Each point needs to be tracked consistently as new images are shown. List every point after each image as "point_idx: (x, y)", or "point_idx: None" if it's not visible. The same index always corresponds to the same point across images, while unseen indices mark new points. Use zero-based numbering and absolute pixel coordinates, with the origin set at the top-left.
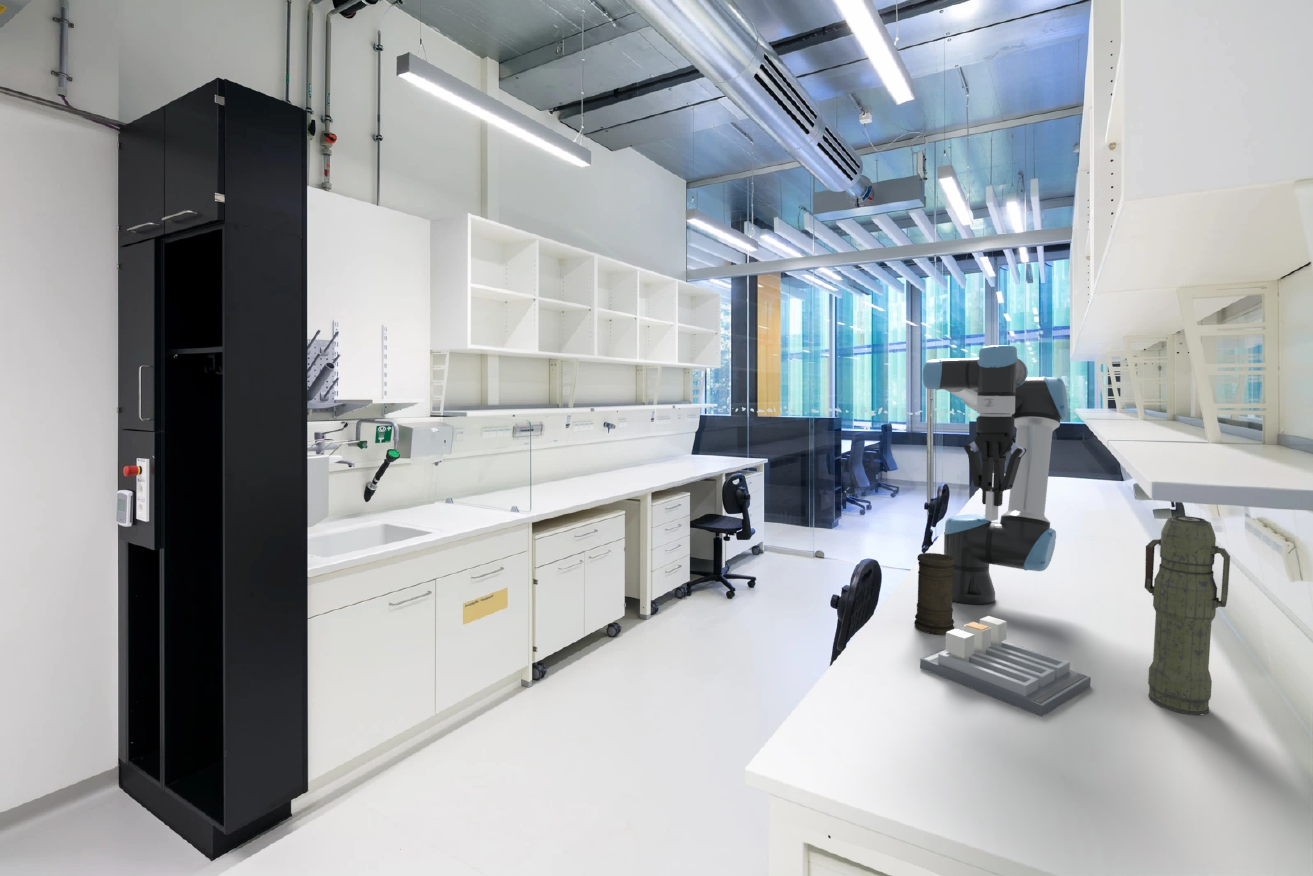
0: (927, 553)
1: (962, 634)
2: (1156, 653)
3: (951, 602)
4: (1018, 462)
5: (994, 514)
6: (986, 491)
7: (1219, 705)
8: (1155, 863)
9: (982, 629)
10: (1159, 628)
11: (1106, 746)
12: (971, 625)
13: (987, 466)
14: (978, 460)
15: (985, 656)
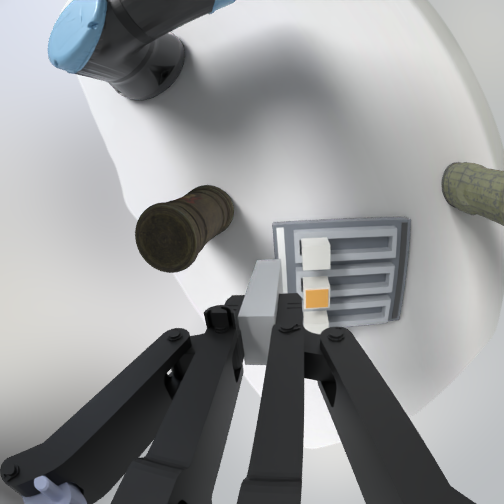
0: (139, 230)
1: (319, 333)
2: (474, 208)
3: (217, 212)
4: (425, 470)
5: (281, 291)
6: (246, 363)
7: (474, 158)
8: (452, 380)
9: (328, 305)
10: (493, 217)
11: (436, 314)
12: (312, 304)
13: (217, 467)
14: (104, 443)
15: (332, 295)
